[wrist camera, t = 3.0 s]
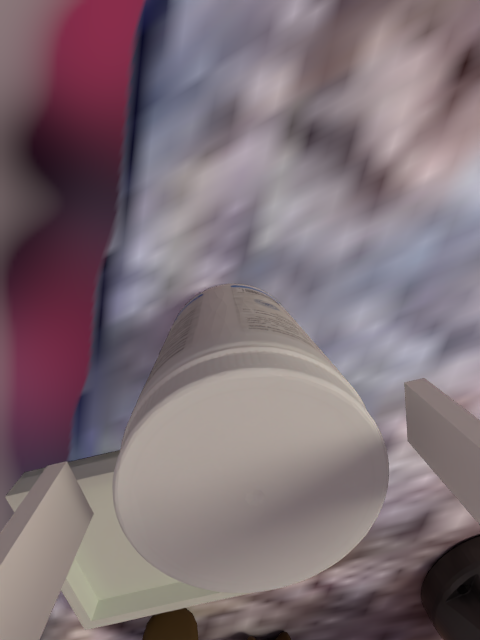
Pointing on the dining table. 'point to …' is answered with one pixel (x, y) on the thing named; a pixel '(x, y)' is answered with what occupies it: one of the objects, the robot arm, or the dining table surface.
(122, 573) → the sage tray
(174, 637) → the kendama
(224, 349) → the supplement tub
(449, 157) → the dining table surface
